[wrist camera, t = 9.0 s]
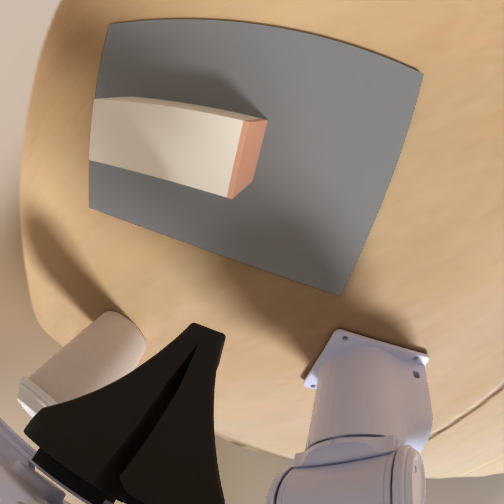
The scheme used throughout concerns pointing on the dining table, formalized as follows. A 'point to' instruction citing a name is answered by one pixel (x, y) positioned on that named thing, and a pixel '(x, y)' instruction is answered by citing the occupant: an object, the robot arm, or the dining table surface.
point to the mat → (265, 141)
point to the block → (178, 142)
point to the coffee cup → (85, 363)
